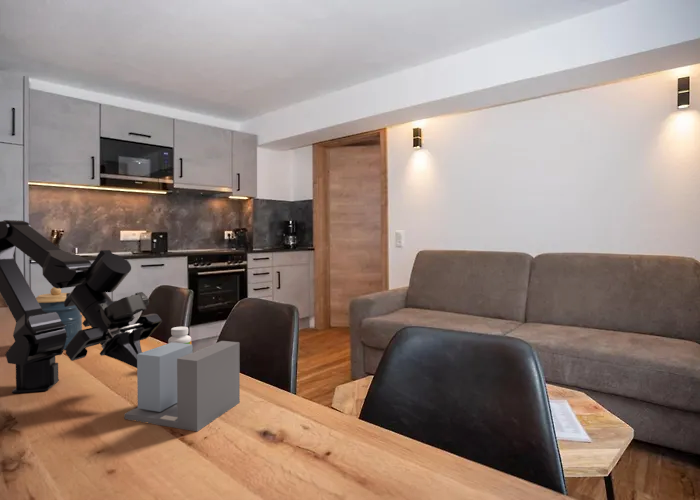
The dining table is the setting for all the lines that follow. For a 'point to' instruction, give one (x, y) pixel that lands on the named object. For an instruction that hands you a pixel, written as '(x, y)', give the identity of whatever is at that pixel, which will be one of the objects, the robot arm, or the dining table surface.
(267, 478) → the dining table surface
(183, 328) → the supplement bottle
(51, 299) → the canister
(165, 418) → the plate
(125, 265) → the robot arm
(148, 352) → the blue-gray rectangular block
